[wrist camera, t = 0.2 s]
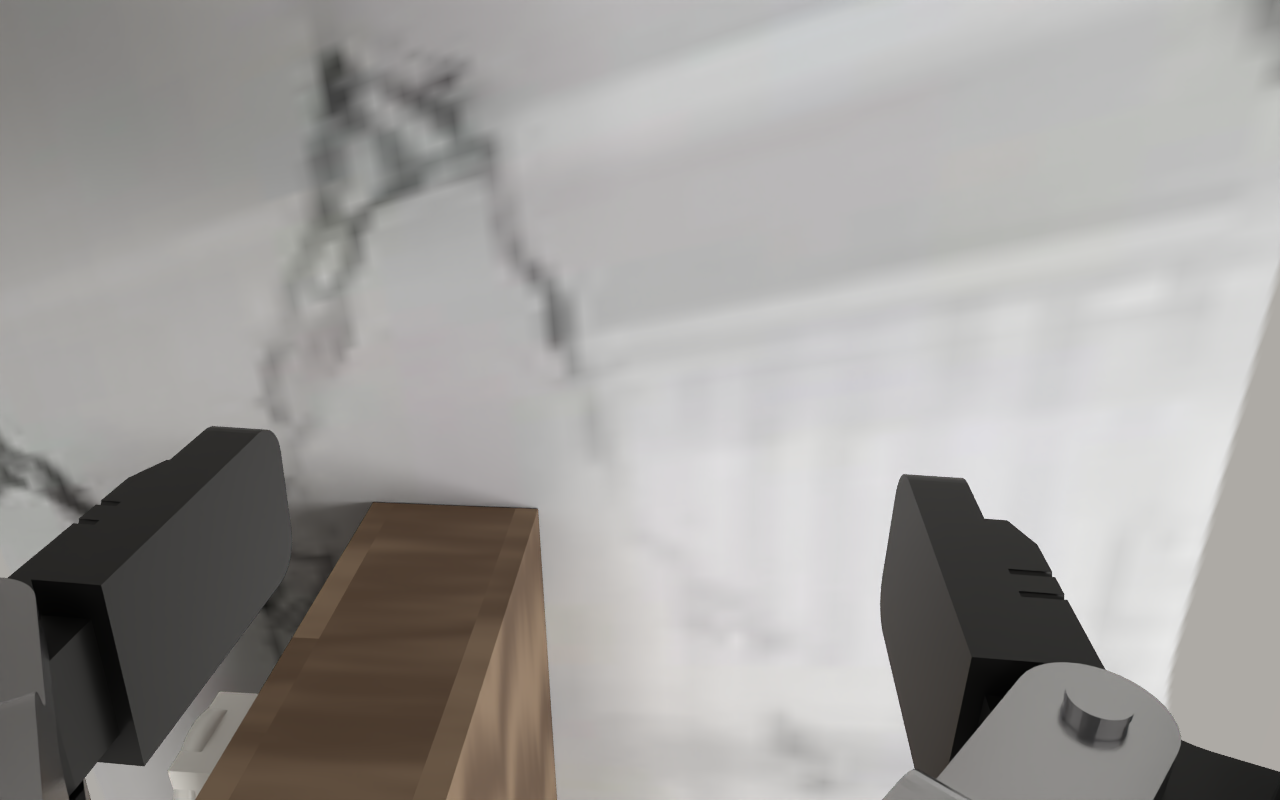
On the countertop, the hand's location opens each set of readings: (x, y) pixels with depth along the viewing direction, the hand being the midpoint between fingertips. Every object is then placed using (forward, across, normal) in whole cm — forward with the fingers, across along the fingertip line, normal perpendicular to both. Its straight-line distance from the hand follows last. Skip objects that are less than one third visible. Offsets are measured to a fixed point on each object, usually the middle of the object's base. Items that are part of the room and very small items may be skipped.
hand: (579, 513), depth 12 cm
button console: (+19, +7, +21) cm, 29 cm away
